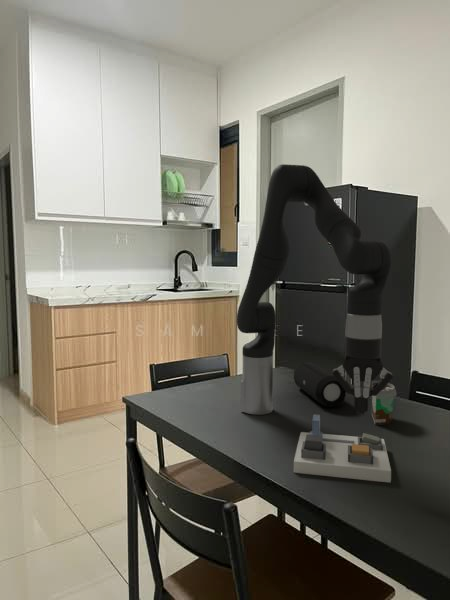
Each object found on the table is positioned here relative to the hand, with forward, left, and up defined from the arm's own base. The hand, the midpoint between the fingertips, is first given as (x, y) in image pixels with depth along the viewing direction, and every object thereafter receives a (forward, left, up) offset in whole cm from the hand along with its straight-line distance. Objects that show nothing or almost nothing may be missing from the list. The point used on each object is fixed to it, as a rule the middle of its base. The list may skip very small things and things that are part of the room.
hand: (360, 413), depth 103 cm
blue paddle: (-10, +9, -10) cm, 16 cm away
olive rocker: (+3, +8, -9) cm, 12 cm away
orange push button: (0, 0, -10) cm, 10 cm away
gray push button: (-10, 0, -9) cm, 13 cm away
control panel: (-4, +4, -13) cm, 14 cm away
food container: (+8, +35, -13) cm, 38 cm away
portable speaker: (-12, +53, -13) cm, 56 cm away
